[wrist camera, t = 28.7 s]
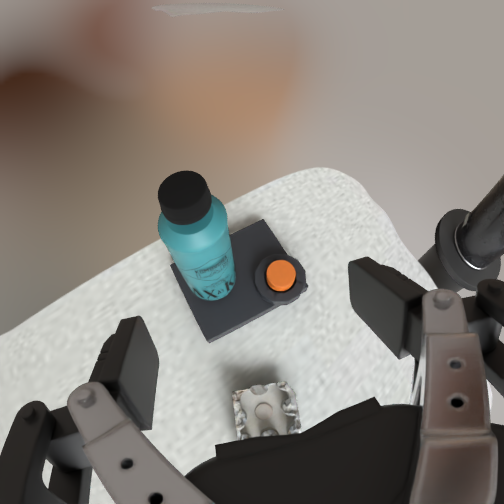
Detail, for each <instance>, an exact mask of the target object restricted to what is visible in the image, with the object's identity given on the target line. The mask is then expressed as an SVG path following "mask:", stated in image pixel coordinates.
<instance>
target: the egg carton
mask: <svg viewBox="0 0 504 504" xmlns="http://www.w3.org/2000/svg"><path fill="white" fill-rule="evenodd" d="M232 393H233V394H232V396H233V405H234V413H235V421H236V429H237V437H238V440H243V439H247V438H251V437H256V436H276V435H289V434H298V433H302V432H301V424H300V418H299V412H298V405H297V399H296V395H295V392H294V391H293V389H292V388H291V387H290V386H289V384H288V383H287V382H286V381H283V382H279V383H271V384H267V385H264V386H263V385H262V384H261V385H253V386H251V388H248V389H244V390H238V391H233V392H232Z"/></svg>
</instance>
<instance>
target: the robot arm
mask: <svg viewBox="0 0 504 504" xmlns="http://www.w3.org/2000/svg"><path fill="white" fill-rule="evenodd" d="M469 213H470V212H469ZM469 213H468V214H467V215H466V217H465V219H464V220H463V222H462V223H460V224H459V225H458V226H457V227H456V229H455V231H454V245H455V248H456V251H457V253H458V255H459V257H460V258H461V259H462V261H463V262H464V263H465V264H466V265H467V266H468V267H470V268H471V269H474V270H477V271H481V270H484V269H485V268H487V267H488V266H489V265H490V264H491V263H492V262H494V261H495V260H497V259H498V258H499V257H501V256H502V255H503V254H504V175H503V176H502V178H501V179H500V180H499V181H498V183H497V184H496V185H495V186H494V187H493V188H492V189H491V191H490V192H489V193H488V194H487V195H486V196H485V198H484V199H483V200H482V201H481V202H480V203H479V204H478V205H477V207H476V208H475V209H474V210H473V211H472V212H471V213H470V214H469ZM348 274H349V290H350V301H351V305H352V307H353V309H354V311H355V312H356V313H357V315H358V316H359V317H360V318H361V319H362V320H363V321H364V322H365V323H366V324H367V325H368V326H369V327H370V328H371V330H372V331H373V332H374V333H375V334H376V335H377V336H378V337H379V338H380V339H381V340H382V341H383V343H384V344H385V345H386V346H387V347H388V348H389V349H390V350H391V351H392V352H393V353H394V355H395V356H396V357H397V358H398V359H402V358H404V357H406V356H408V355H410V354H411V355H412V356H413V357H414V358H415V359H414V365H413V377H412V387H411V396H410V403H409V404H392V405H384V406H380V404H379V403H378V401H377V400H376V398H375V397H373V398H370V399H368V400H366V401H363V402H361V403H358V404H356V405H353V406H351V407H348V408H346V409H343V410H341V411H338V412H337V413H335V414H333V415H332V416H330V417H328V418H327V419H325V420H324V421H322V422H320V423H318V424H317V425H315V426H313V427H312V428H310V429H308V430H306V431H304V432H302V433H298V434H289V435H276V436H256V437H251V438H247V439H243V440H238V441H233V442H228V443H223V444H217V445H215V449H216V457H213V458H211V459H209V460H207V461H205V462H203V463H201V464H200V465H198V466H197V467H195V468H194V469H192V470H191V471H190V472H189V473H187V474H186V475H185V476H183V475H182V474H181V473H180V472H179V471H178V470H177V469H176V468H175V467H174V466H173V465H172V464H171V463H170V462H169V461H168V460H167V459H166V458H165V457H164V456H163V455H162V454H161V453H160V452H159V451H158V450H157V449H156V447H155V446H154V445H153V444H152V443H151V442H150V441H149V440H148V439H147V438H146V436H145V435H144V434H143V433H142V432H141V431H143V430H152V421H153V411H154V402H155V393H156V385H157V377H158V369H159V357H158V353H157V350H156V348H155V345H154V343H153V341H152V339H151V336H150V334H149V332H148V330H147V327H146V325H145V323H144V320H143V319H142V317H141V316H136V317H131V318H126V319H122V320H121V321H120V323H119V325H118V328H117V330H116V333H115V334H112V335H111V336H110V337H109V338H108V339H107V340H106V342H105V343H104V344H103V347H102V349H101V352H100V353H101V354H99V356H98V359H97V360H98V361H96V364H95V366H94V369H93V371H92V374H91V377H90V379H89V382H88V383H85V384H82V385H81V386H79V387H77V388H76V389H75V390H74V391H73V392H72V393H71V394H70V396H69V398H68V400H67V406H65V407H62V408H59V409H56V410H52V411H50V410H49V409H48V408H47V407H46V405H45V404H44V403H43V402H41V401H32V402H30V403H27V404H26V405H24V406H23V407H22V408H21V409H20V410H19V411H18V413H17V415H16V417H15V419H14V422H13V424H12V426H11V429H10V431H9V434H8V436H7V439H6V441H5V444H4V447H3V449H2V452H1V455H0V504H89V494H90V485H91V476H92V468H93V469H94V471H95V472H96V474H97V476H98V477H99V479H100V480H101V482H102V484H103V485H104V487H105V488H106V490H107V491H108V493H109V495H110V496H111V498H112V499H113V500H114V502H115V503H116V504H504V425H499V424H494V423H490V409H489V398H488V389H487V381H486V379H487V380H488V381H489V382H490V383H491V384H492V385H493V386H494V387H495V388H496V389H497V391H498V392H499V393H500V394H501V395H502V396H503V397H504V344H503V343H502V342H501V341H500V340H499V336H500V332H501V329H502V326H503V327H504V282H503V281H501V280H497V279H485V280H482V281H480V282H479V283H478V285H477V290H476V296H472V297H466V298H461V297H460V295H459V294H457V293H456V292H454V291H451V290H447V289H435V290H431V291H427V290H426V289H424V288H423V287H421V286H420V285H418V284H417V283H415V282H414V281H412V280H411V279H408V277H406V276H405V275H403V274H401V273H400V272H399V271H397V270H396V269H394V268H392V267H388V266H385V265H380V264H379V263H377V262H376V261H374V260H373V259H371V258H369V257H363V258H360V259H357V260H353V261H350V262H349V264H348ZM45 459H47V460H48V461H49V462H50V463H51V464H52V465H53V468H52V473H51V478H50V482H49V488H48V489H47V488H46V486H45V485H44V483H43V480H42V472H43V467H44V463H45Z"/></svg>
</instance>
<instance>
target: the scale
mask: <svg viewBox="0 0 504 504" xmlns="http://www.w3.org/2000/svg"><path fill="white" fill-rule="evenodd" d="M229 237H230V241H231V244H232V245H231V246H232V247H233V248H232V254H233V260H234V264H236V266H234V267H235V268H236V272H235V273H237V274H236V277H237V278H236V280H235V281H236V282H235V284H234V286H233V288H232V290H231V291H230V292H229V293H228V294H227V296H224V297H223V298H220V299H217V300H214V301H212V300H208V301H207V300H205V299H203V300H202V298H200V297H198V296H196V295H195V294H194V293H192V292H191V289H190V287H189V286H188V284H187V282H184V281H185V279H183V278H182V277H181V276H182V274H180V273H181V272H180V271H179V269H178V268H176V266H177V265H176V264H175V263H173V264H171V265H170V266H171V268H172V270H173V273H174V275H175V277H176V279H177V281H178V283H179V286H180V288H181V290H182V292H183V294H184V296H185V298H186V300H187V302H188V304H189V306H190V309H191V311H192V313H193V315H194V317H195V319H196V321H197V323H198V325H199V327H200V329H201V331H202V333H203V334H204V336H205V338H206V340H207V341H208V342H209V343H211V342H213V341H215V340H217V339H219V338H221V337H223V336H225V335H227V334H228V333H230V332H232V331H234V330H236V329H238V328H240V327H242V326H244V325H246V324H247V323H249V322H251V321H253V320H255V319H257V318H259V317H260V316H262V315H264V314H266V313H268V312H269V311H271V310H273V309H275V308H277V307H278V306H280V305H288V304H289V303H291V302H293V301H295V300H296V299H298V298H299V296H300V294H301V293H303V292H305V291H306V290H307V288H308V285H307V283H306V275H305V270H304V269H303V267H302V266H301V264H300V263H299V261H298V260H296V259H294V258H293V257H291V256H289V255H287V253H286V252H285V250H284V249H283V247H282V246H281V244H280V243H279V241H278V240H277V238H276V237H275V235H274V234H273V233H272V231H271V230H270V228H269V227H268V225H267V224H266V222H265V221H264V219H262V220H260V221H258V222H256V223H254V224H252V225H250V226H248V227H246V228H244V229H241V230H239V231H237V232H235V233H233V234H231V235H229ZM233 252H234V253H233ZM234 258H235V259H234ZM277 260H285V261H287V262H289V263H291V264H292V265H293V267H294V269H295V272H296V276H295V279H294V283H293V285H292V286H291V287H290V288H289V289H288V290H285V291H276V290H273V289H272V288H271V287H270V286H269V285H268V283H267V280H266V274H267V269H268V267H269V265H270V264H271V263H272V262H274V261H277ZM175 265H176V266H175ZM187 286H188V287H187Z"/></svg>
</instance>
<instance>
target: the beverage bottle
mask: <svg viewBox="0 0 504 504" xmlns="http://www.w3.org/2000/svg"><path fill="white" fill-rule="evenodd" d="M158 200H159V203H160V206H161V210H162V212H161V214H160V216H159V220H158V232H159V235H160V237H161V239H162V241H163V242H164V243H165V245H166V247H167V248H168V250H169V252H170V254H171V256H172V258H173V260H174V262H175V264H176V265H177V266H176V265H175V266H176V268H178V269H179V271H180V272H181V273H180V274H182V276H181V277H182V278H183V279H185V281H184V282H187V284H188V286H189V287H190V289H191V292H192V293H194V294H195V295H196V296H198V297H200V298H202V300H203V299H205V300H207V301H208V300H212V301H214V300H217V299H220V298H223V297H224V296H227V294H228V293H229V292H230V291H231V290H232V288H233V286H234V284H235V282H236V281H235V280H236V278H237V277H236V274H237V273H235V272H236V268H235V267H234V266H236V264H234V260H233V254H232V248H233V247H232V246H231V245H232V244H231V241H230V237H229V230H228V224H227V213H226V209H225V207H224V205H223V204H222V202H221V201H220V200H219V199H217V198H216V197H214V196H213V195H211V193H210V190H209V189H208V186H207V184H206V181H205V179H204V178H203V177H202V176H201V175H200V174H198V173H196V172H193V171H180V172H177V173H174V174H172V175H170V176H169V177H167V178H166V179H165V180H164V181H163V182H162V184H161V185H160V187H159V190H158ZM233 253H234V252H233ZM234 259H235V258H234ZM188 286H187V287H188Z"/></svg>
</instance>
